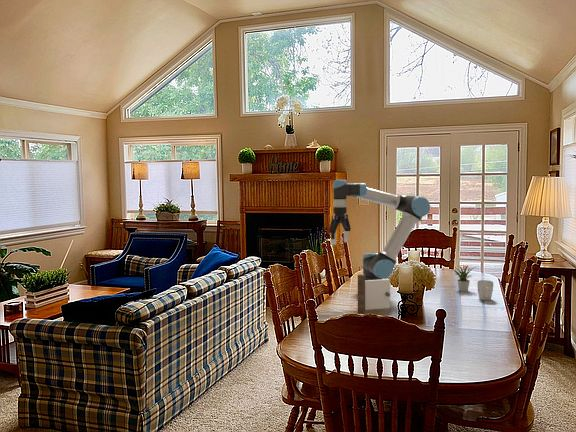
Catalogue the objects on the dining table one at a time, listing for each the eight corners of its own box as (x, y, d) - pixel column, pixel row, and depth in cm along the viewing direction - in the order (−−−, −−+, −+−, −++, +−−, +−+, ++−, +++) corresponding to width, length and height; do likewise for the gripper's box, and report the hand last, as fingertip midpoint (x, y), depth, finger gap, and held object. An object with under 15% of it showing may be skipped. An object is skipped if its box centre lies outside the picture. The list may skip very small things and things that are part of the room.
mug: (495, 302, 285) (495, 284, 284) (479, 301, 286) (479, 284, 286) (491, 297, 296) (491, 280, 295) (476, 297, 297) (476, 280, 297)
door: (388, 307, 270) (388, 279, 269) (391, 308, 267) (391, 280, 266) (363, 309, 267) (363, 280, 266) (366, 310, 264) (366, 281, 263)
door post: (360, 312, 266) (360, 274, 265) (365, 313, 264) (365, 274, 263) (357, 313, 264) (357, 274, 263) (362, 314, 262) (362, 275, 261)
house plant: (474, 288, 322) (474, 262, 320) (480, 292, 308) (480, 265, 307) (450, 287, 323) (451, 261, 322) (455, 292, 309) (456, 265, 308)
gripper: (345, 205, 307) (345, 240, 309) (322, 207, 287) (322, 245, 289) (356, 205, 303) (356, 241, 304) (333, 208, 283) (333, 246, 284)
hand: (340, 243), depth 297 cm, fingers open, 13 cm apart
